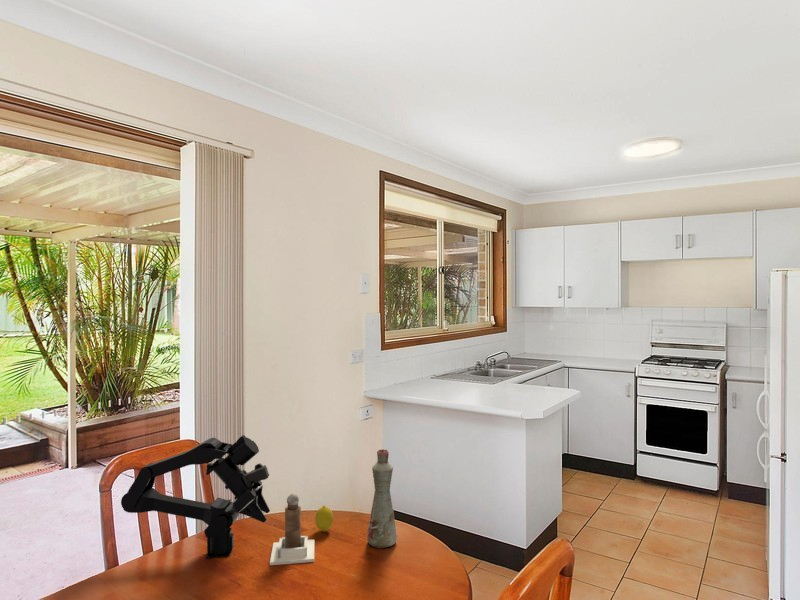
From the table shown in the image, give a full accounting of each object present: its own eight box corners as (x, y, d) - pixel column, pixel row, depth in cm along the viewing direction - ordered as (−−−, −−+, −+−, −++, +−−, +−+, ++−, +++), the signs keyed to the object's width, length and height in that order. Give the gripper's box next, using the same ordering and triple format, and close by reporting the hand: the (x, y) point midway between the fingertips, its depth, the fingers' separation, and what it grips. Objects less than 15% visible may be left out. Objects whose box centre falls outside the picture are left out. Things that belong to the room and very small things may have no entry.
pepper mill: (286, 554, 146) (286, 497, 147) (283, 547, 151) (284, 492, 151) (301, 552, 148) (301, 495, 148) (299, 545, 152) (299, 490, 152)
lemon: (331, 535, 161) (331, 509, 161) (313, 535, 161) (313, 509, 161) (334, 527, 166) (334, 502, 166) (317, 527, 166) (316, 502, 166)
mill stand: (269, 565, 142) (269, 554, 142) (273, 545, 154) (273, 535, 154) (314, 561, 144) (314, 550, 144) (314, 542, 156) (314, 532, 156)
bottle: (387, 552, 149) (386, 455, 149) (361, 545, 154) (360, 450, 154) (402, 540, 157) (402, 447, 157) (377, 534, 161) (377, 443, 162)
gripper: (249, 461, 143) (286, 504, 143) (258, 451, 161) (290, 489, 161) (216, 490, 140) (254, 534, 140) (228, 476, 159) (262, 515, 159)
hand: (267, 516), depth 150 cm, fingers open, 9 cm apart
